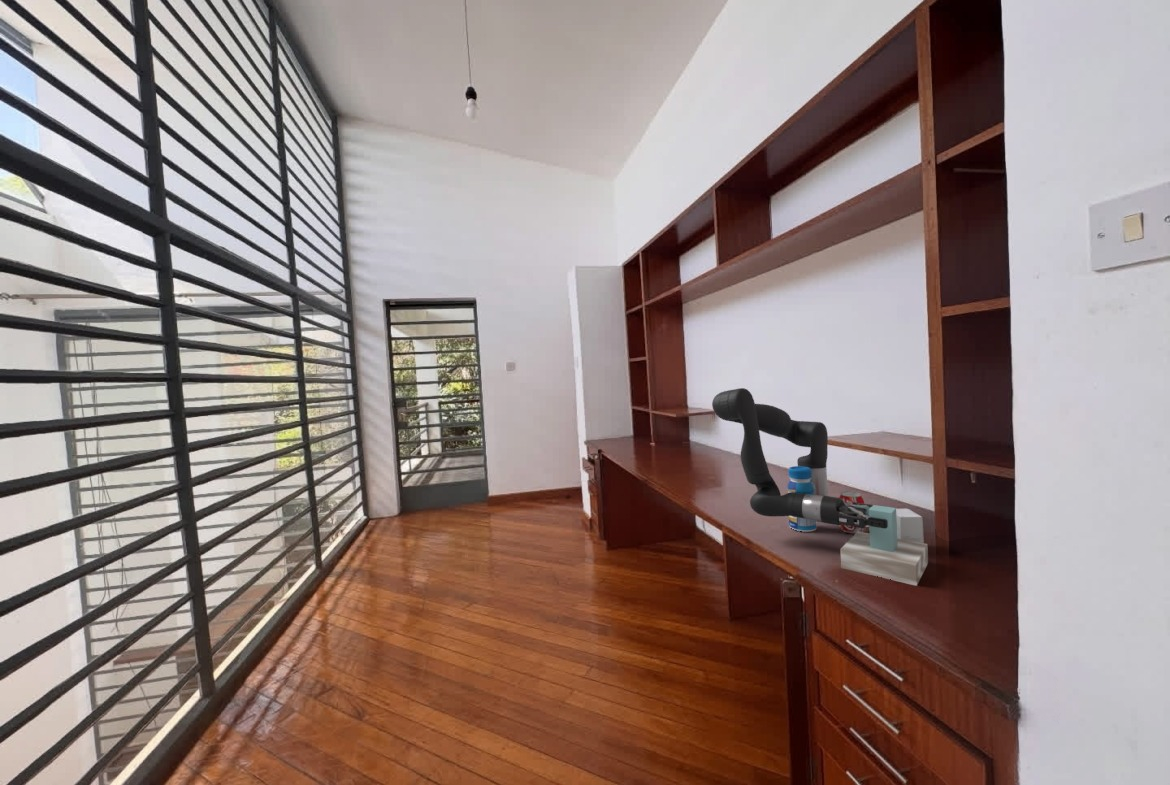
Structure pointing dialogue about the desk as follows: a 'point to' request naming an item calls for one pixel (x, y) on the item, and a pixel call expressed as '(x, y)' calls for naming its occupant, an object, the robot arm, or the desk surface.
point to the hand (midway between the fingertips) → (891, 519)
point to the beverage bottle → (804, 486)
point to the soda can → (848, 500)
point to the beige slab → (885, 559)
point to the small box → (909, 526)
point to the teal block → (882, 536)
